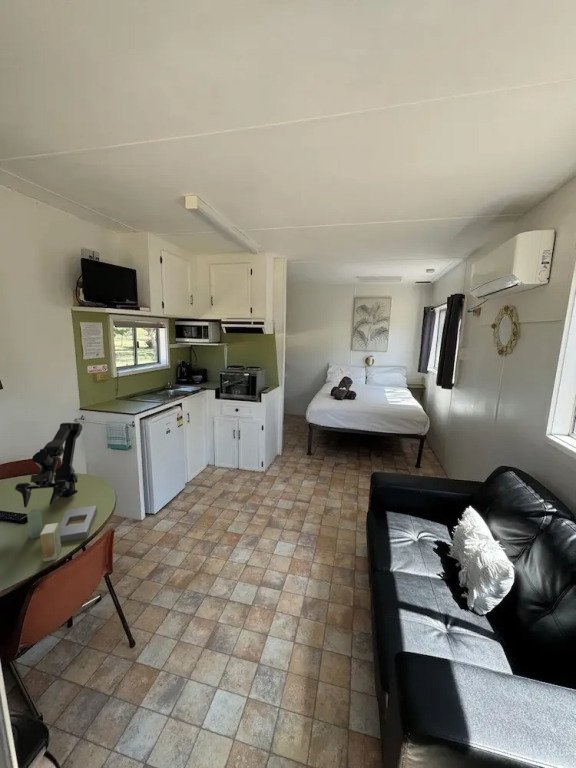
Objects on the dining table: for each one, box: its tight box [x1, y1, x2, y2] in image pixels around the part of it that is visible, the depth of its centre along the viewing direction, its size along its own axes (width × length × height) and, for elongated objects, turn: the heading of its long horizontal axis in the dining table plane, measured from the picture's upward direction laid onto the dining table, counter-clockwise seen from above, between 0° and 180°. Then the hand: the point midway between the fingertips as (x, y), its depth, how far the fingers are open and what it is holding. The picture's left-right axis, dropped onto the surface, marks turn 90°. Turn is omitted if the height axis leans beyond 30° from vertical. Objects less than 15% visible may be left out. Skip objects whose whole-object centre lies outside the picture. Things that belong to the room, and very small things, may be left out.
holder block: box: [59, 505, 98, 543], centre depth 137 cm, size 20×12×3 cm, turn 21°
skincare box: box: [39, 522, 62, 563], centre depth 119 cm, size 6×4×12 cm
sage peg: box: [26, 508, 44, 539], centre depth 130 cm, size 4×4×12 cm
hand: (37, 506), depth 132 cm, fingers open, 9 cm apart
